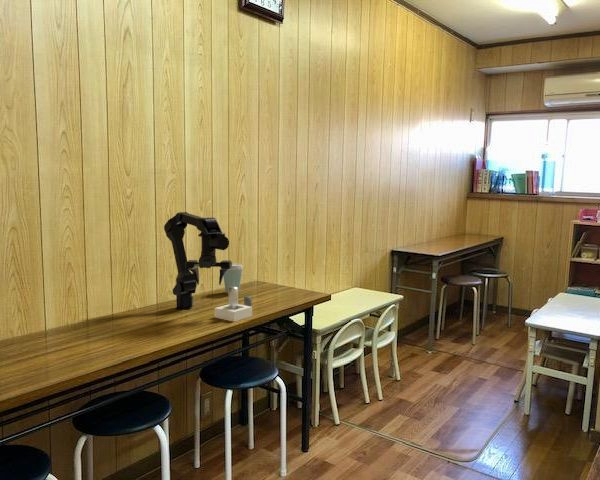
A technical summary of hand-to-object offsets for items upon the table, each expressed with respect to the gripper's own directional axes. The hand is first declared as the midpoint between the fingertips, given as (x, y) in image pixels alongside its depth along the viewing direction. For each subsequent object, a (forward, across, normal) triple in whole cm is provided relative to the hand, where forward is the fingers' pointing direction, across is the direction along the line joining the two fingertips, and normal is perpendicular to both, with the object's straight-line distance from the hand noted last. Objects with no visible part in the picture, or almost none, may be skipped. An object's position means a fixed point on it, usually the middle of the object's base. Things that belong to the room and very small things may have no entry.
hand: (209, 284), depth 223 cm
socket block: (+13, +11, -2) cm, 17 cm away
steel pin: (+13, +11, -2) cm, 17 cm away
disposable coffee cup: (+13, +2, +44) cm, 46 cm away
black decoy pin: (+13, +15, +9) cm, 22 cm away
